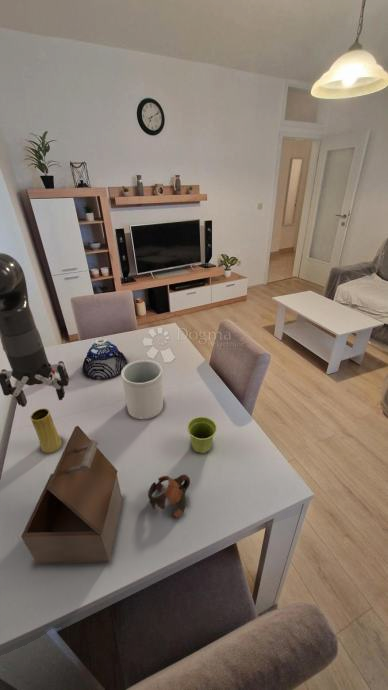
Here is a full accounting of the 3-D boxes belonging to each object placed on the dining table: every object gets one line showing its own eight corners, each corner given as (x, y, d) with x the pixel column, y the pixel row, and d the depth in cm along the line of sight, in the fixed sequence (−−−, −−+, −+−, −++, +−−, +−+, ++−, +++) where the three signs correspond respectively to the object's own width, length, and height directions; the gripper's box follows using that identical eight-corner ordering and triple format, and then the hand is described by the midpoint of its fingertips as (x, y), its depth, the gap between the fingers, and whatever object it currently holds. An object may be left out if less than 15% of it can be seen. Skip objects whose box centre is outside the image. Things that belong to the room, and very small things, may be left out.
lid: (46, 488, 49) (72, 480, 48) (75, 426, 62) (96, 419, 61) (98, 534, 58) (122, 528, 57) (114, 471, 70) (134, 466, 69)
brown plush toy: (170, 530, 70) (153, 508, 68) (155, 512, 78) (139, 492, 76) (203, 492, 75) (188, 471, 73) (185, 479, 83) (171, 459, 81)
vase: (37, 452, 90) (24, 420, 83) (49, 437, 95) (37, 406, 88) (54, 454, 89) (42, 422, 82) (65, 439, 94) (55, 408, 87)
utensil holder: (172, 403, 110) (170, 367, 101) (147, 427, 99) (142, 388, 90) (144, 390, 117) (140, 355, 108) (118, 411, 106) (111, 374, 97)
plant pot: (221, 450, 90) (222, 431, 86) (196, 462, 86) (196, 443, 82) (206, 431, 98) (206, 413, 93) (182, 441, 93) (182, 423, 89)
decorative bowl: (92, 355, 141) (86, 330, 134) (131, 356, 140) (127, 331, 133) (76, 379, 124) (69, 351, 116) (120, 380, 123) (116, 352, 116)
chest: (36, 563, 63) (20, 536, 57) (62, 500, 76) (51, 473, 70) (109, 561, 64) (100, 535, 58) (122, 499, 76) (116, 472, 70)
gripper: (60, 335, 67) (74, 387, 75) (-7, 343, 64) (15, 397, 72) (55, 350, 61) (71, 405, 69) (-18, 360, 58) (7, 417, 66)
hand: (43, 401), depth 70 cm, fingers open, 8 cm apart
